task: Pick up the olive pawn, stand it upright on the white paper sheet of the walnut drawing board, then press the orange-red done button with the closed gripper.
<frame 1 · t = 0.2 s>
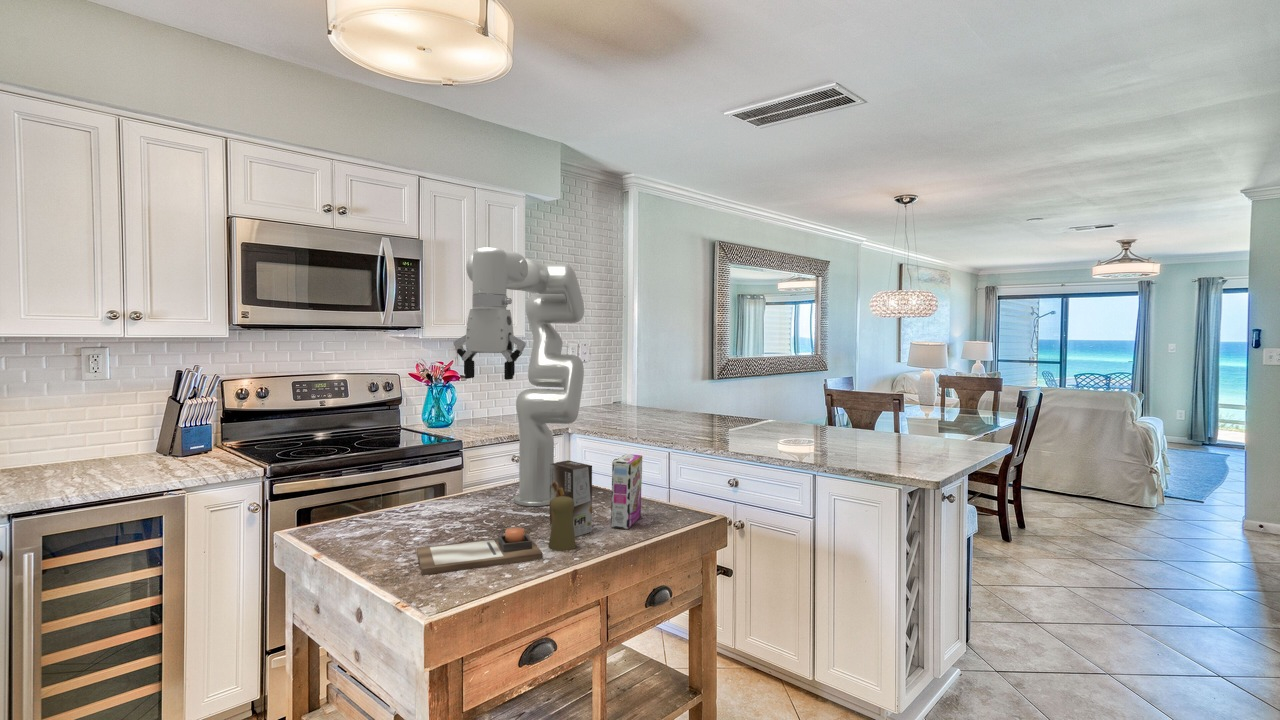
hand: (489, 378, 143), 37 cm above the countertop, tool pointing down, fingers open, 9 cm apart
coffee box: (570, 531, 151), on the countertop
candy bar box: (626, 523, 158), on the countertop
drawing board: (479, 556, 133), on the countertop
olive pawn: (562, 547, 140), on the countertop
done button: (514, 534, 136), point 4 cm above the countertop, slide at 0.0 cm
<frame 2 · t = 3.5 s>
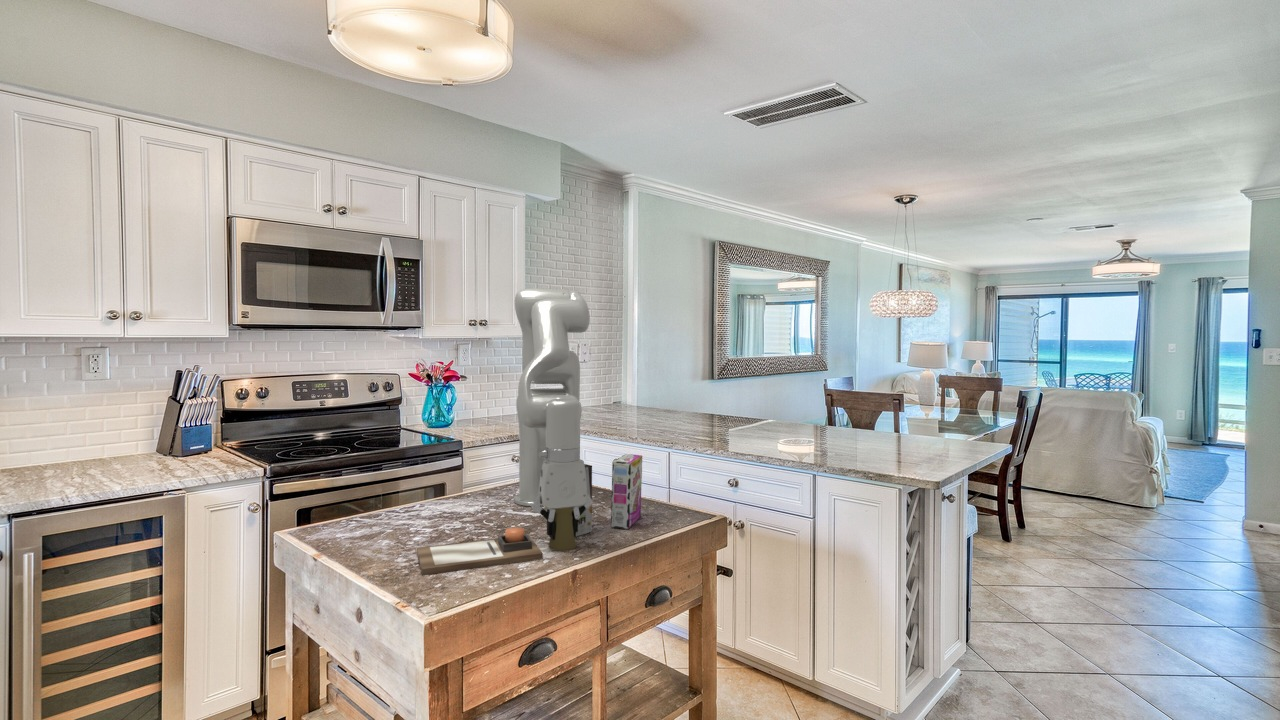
hand: (562, 536, 140), 2 cm above the countertop, tool pointing down, fingers closed on olive pawn, 4 cm apart
olive pawn: (562, 547, 140), on the countertop, touching gripper
everything else where it was.
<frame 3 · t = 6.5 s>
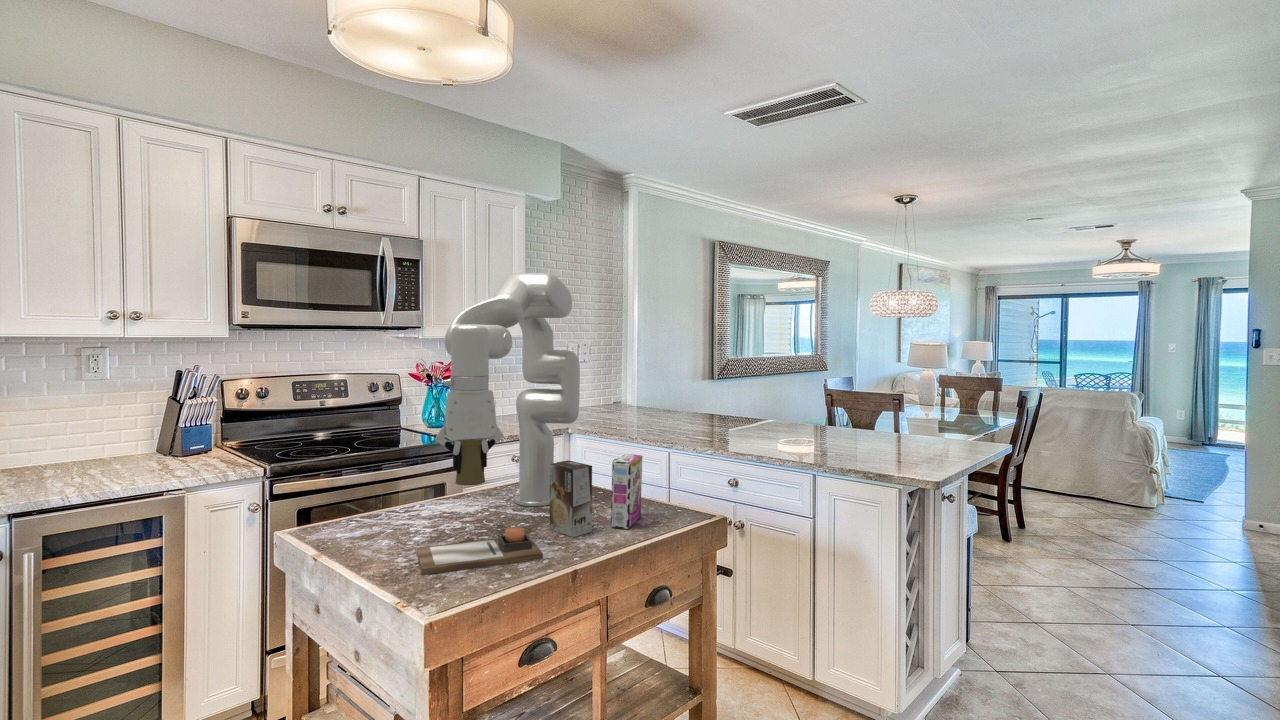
hand: (469, 471, 131), 18 cm above the countertop, tool pointing down, fingers closed on olive pawn, 4 cm apart
olive pawn: (470, 483, 131), point 16 cm above the countertop, touching gripper
everything else where it was.
when the fingers open (5 cm above the countertop, at t = 9.5 s): olive pawn stays where it is, resting on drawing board.
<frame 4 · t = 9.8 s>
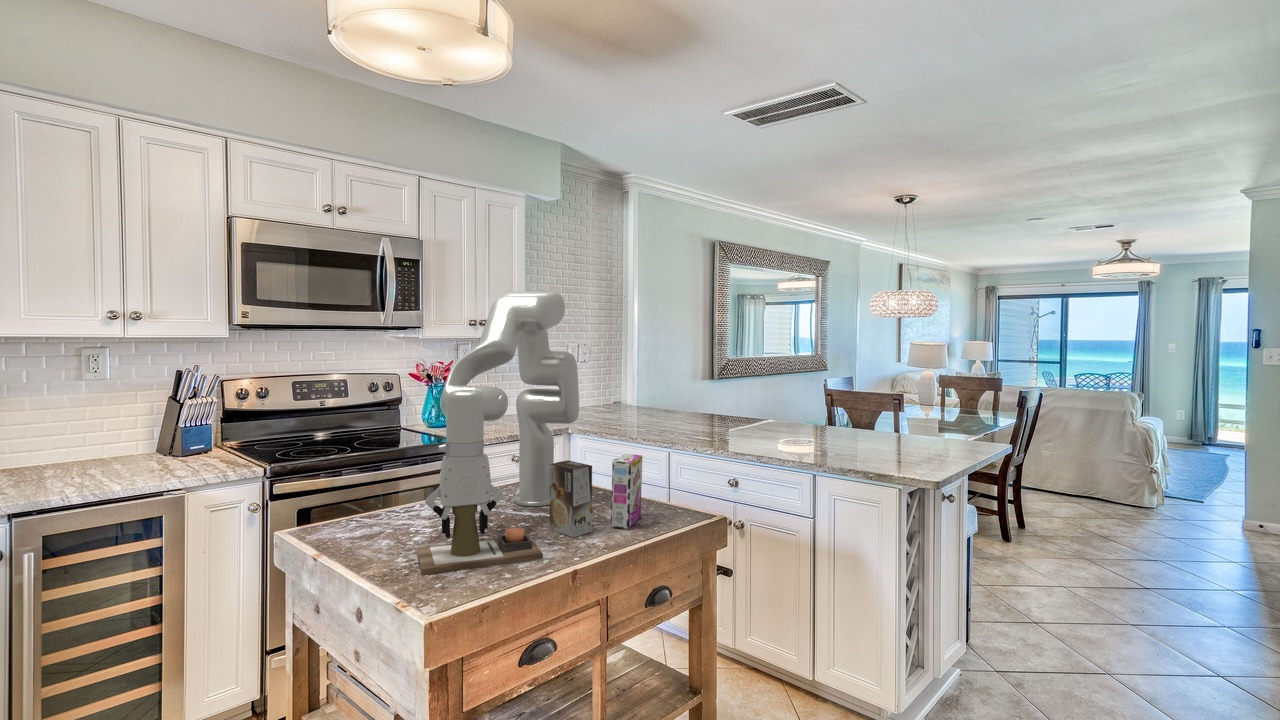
hand: (464, 533, 132), 5 cm above the countertop, tool pointing down, fingers open, 6 cm apart
olive pawn: (465, 552, 132), point 1 cm above the countertop, touching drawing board
everything else where it was.
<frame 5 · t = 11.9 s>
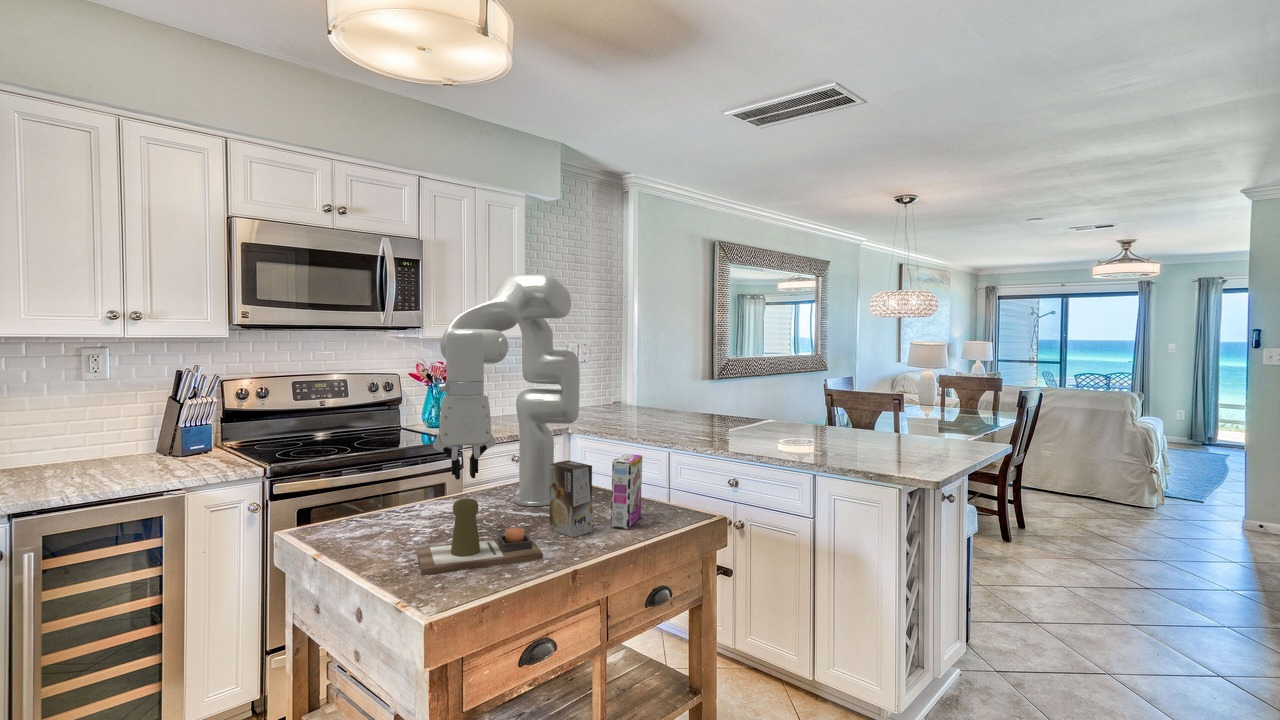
hand: (464, 476, 131), 17 cm above the countertop, tool pointing down, fingers closed
nothing on the countertop moved.
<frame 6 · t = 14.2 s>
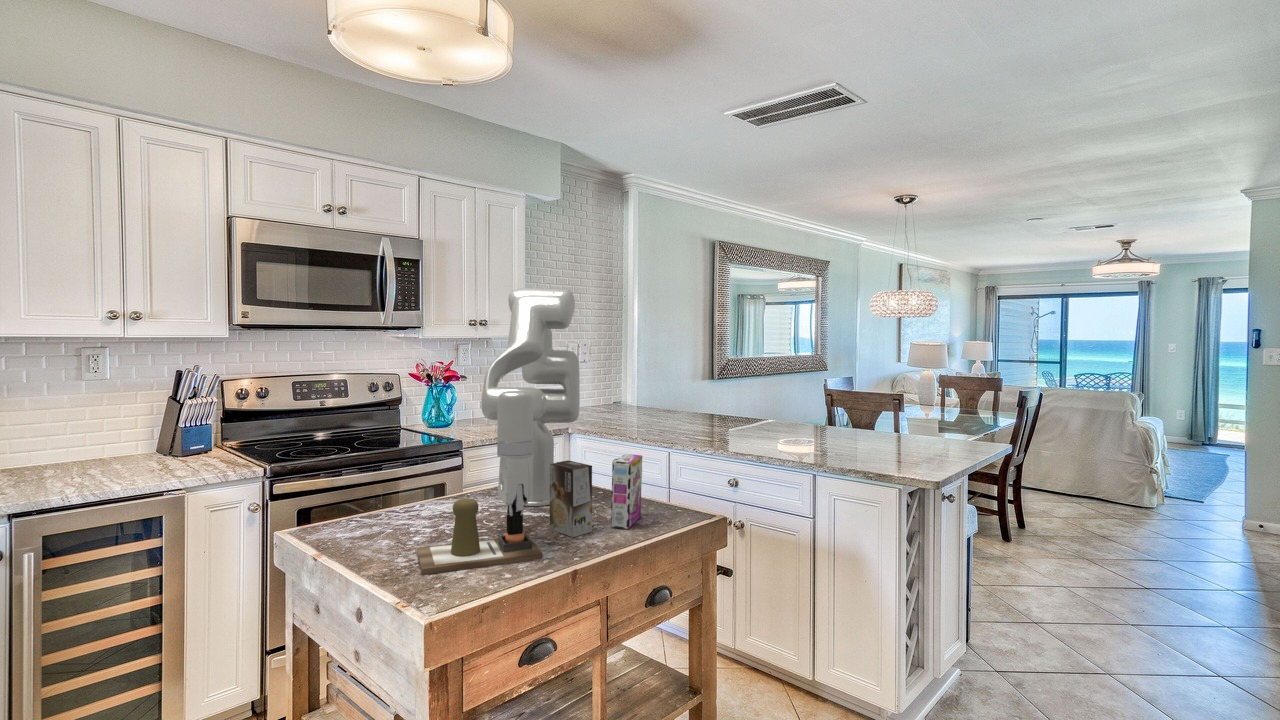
hand: (514, 533, 135), 4 cm above the countertop, tool pointing down, fingers closed
done button: (514, 537, 136), point 3 cm above the countertop, slide at 0.6 cm, touching gripper
everything else where it was.
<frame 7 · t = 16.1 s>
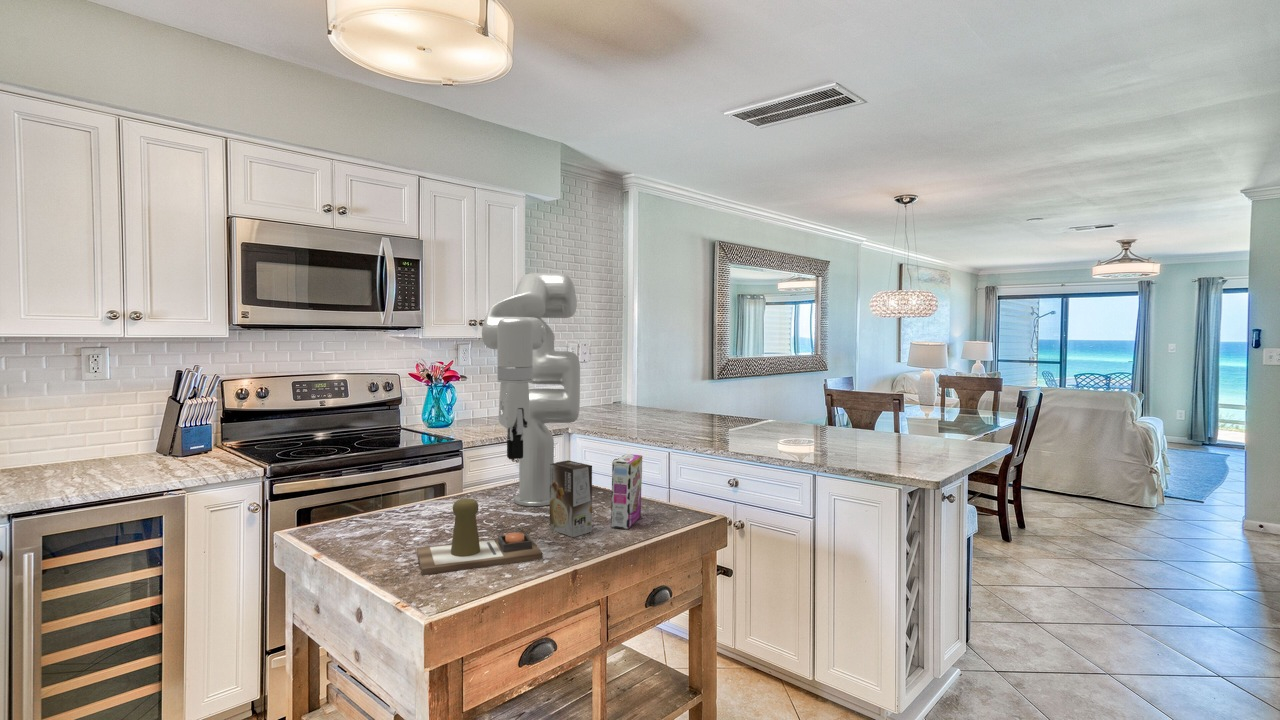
hand: (515, 457, 138), 20 cm above the countertop, tool pointing down, fingers closed
done button: (514, 539, 136), point 3 cm above the countertop, slide at 1.1 cm
everything else where it was.
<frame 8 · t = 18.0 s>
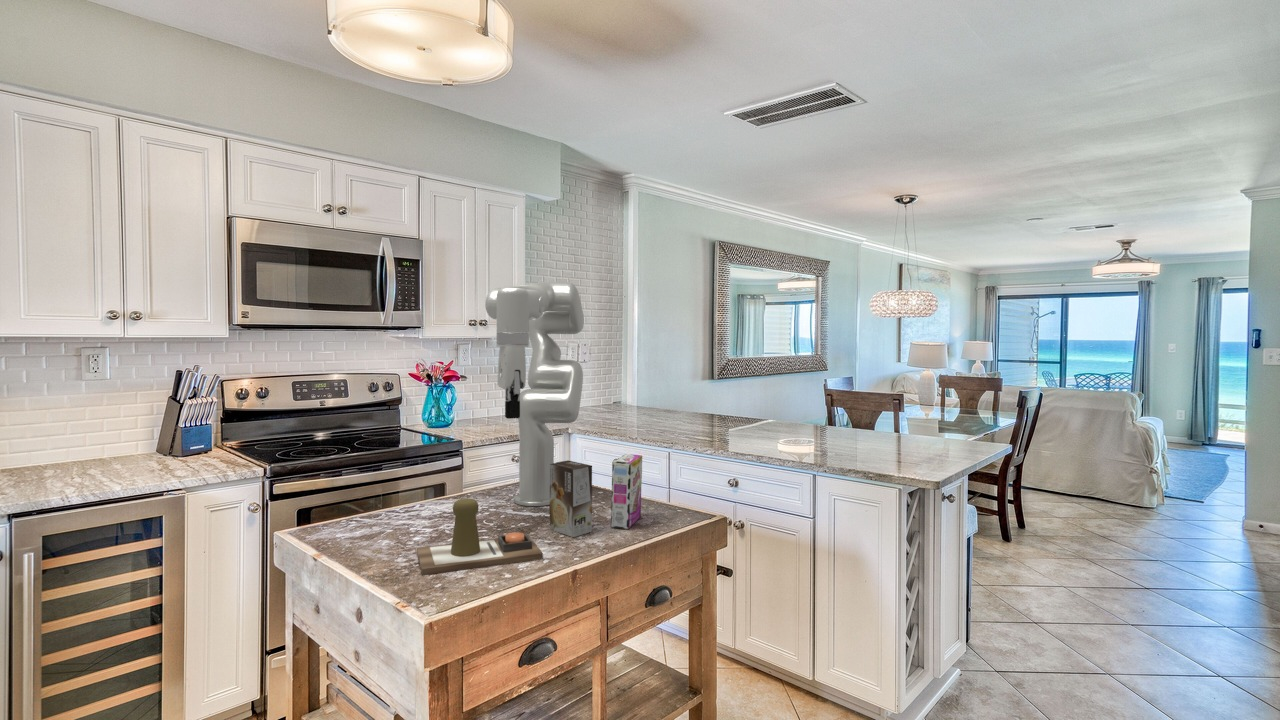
hand: (512, 417, 149), 27 cm above the countertop, tool pointing down, fingers closed
nothing on the countertop moved.
at the end: olive pawn inside the target area on the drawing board (0.2 cm from its centre), point 1.1 cm above the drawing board's base; olive pawn tilted 0°; done button slide at 1.1 cm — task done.
